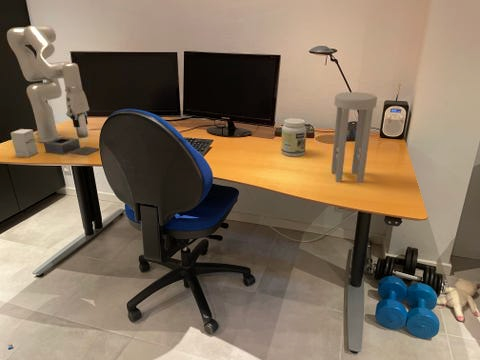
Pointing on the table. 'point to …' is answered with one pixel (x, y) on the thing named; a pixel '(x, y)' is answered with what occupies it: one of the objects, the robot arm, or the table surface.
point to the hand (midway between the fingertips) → (81, 125)
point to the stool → (365, 107)
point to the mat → (85, 150)
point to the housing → (62, 145)
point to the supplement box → (24, 143)
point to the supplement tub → (293, 137)
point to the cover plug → (81, 126)
